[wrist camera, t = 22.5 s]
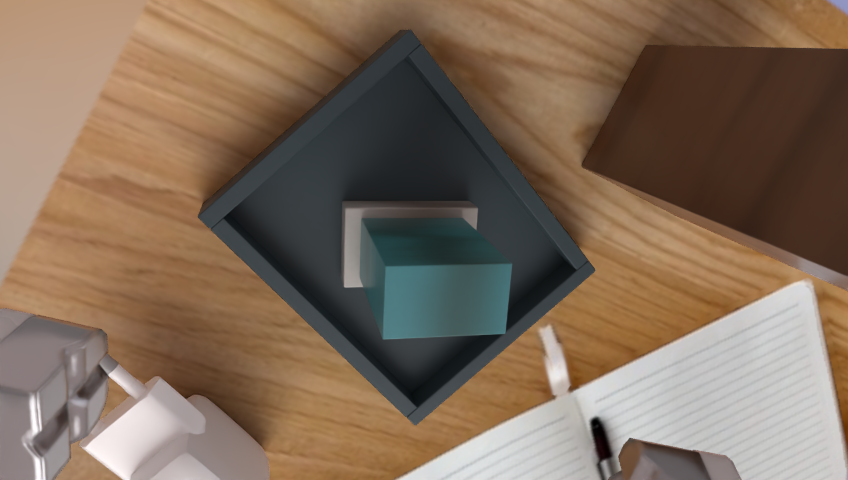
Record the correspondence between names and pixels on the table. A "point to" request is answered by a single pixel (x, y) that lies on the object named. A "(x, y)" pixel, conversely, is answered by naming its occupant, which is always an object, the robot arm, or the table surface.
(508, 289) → the eraser
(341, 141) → the tray
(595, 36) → the table surface
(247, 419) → the table surface
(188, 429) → the power adapter
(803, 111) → the stand
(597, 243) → the table surface
